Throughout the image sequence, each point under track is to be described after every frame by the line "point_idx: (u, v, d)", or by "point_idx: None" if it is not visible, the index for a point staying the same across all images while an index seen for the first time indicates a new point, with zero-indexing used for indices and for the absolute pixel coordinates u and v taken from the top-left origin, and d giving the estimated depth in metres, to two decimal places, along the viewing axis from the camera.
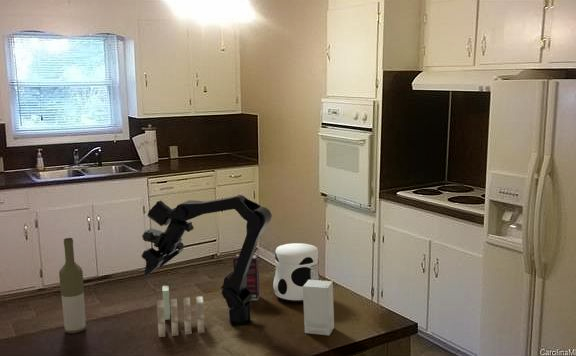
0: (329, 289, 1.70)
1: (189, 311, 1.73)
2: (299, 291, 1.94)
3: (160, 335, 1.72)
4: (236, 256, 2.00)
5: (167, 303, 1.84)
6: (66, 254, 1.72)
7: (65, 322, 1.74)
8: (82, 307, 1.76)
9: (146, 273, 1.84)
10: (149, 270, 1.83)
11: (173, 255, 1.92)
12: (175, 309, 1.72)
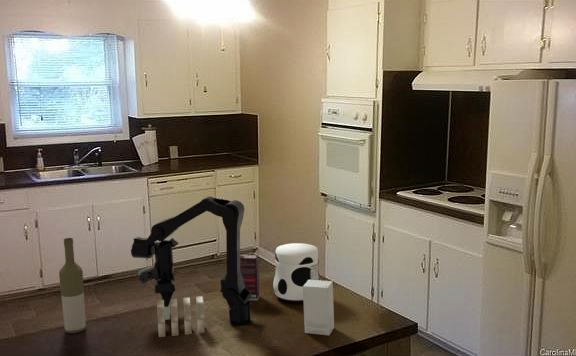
0: (329, 289, 1.70)
1: (189, 311, 1.73)
2: (299, 291, 1.94)
3: (160, 335, 1.72)
4: None
5: None
6: (66, 254, 1.72)
7: (65, 322, 1.74)
8: (82, 307, 1.76)
9: (166, 304, 1.83)
10: (168, 299, 1.83)
11: None
12: (175, 309, 1.72)
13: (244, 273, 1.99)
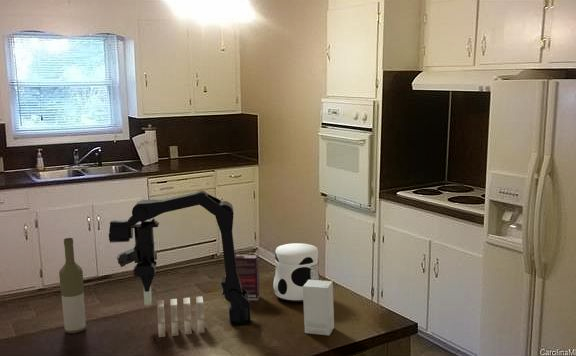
0: (329, 289, 1.70)
1: (189, 311, 1.73)
2: (299, 291, 1.94)
3: (160, 335, 1.72)
4: (236, 256, 2.00)
5: None
6: (66, 254, 1.72)
7: (65, 322, 1.74)
8: (82, 307, 1.76)
9: (147, 289, 1.74)
10: (148, 283, 1.73)
11: None
12: (175, 309, 1.72)
13: (244, 273, 1.99)
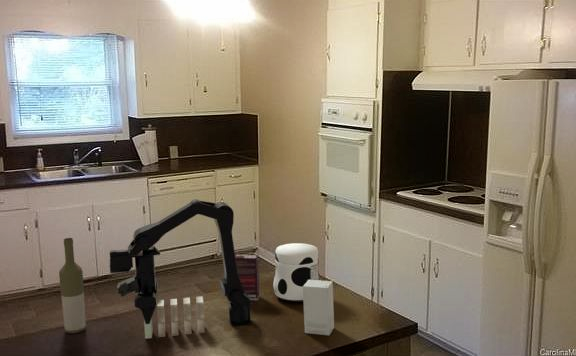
0: (329, 289, 1.70)
1: (189, 311, 1.73)
2: (299, 291, 1.94)
3: (160, 335, 1.72)
4: (236, 256, 2.00)
5: None
6: (66, 254, 1.72)
7: (65, 322, 1.74)
8: (82, 307, 1.76)
9: (147, 321, 1.68)
10: (149, 316, 1.67)
11: (154, 292, 1.77)
12: (175, 309, 1.72)
13: (244, 273, 1.99)
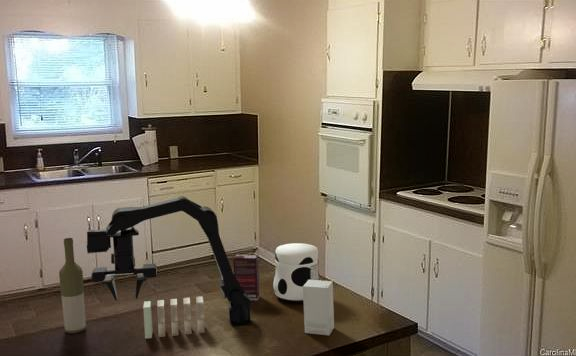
0: (329, 289, 1.70)
1: (189, 311, 1.73)
2: (299, 291, 1.94)
3: (160, 335, 1.72)
4: (236, 256, 2.00)
5: (148, 320, 1.70)
6: (66, 254, 1.72)
7: (65, 322, 1.74)
8: (82, 307, 1.76)
9: None
10: None
11: None
12: (175, 309, 1.72)
13: (244, 273, 1.99)
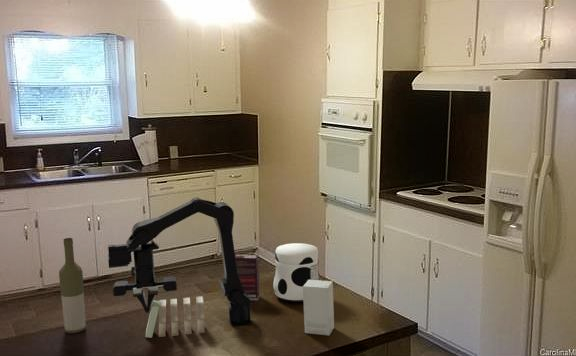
0: (329, 289, 1.70)
1: (189, 311, 1.73)
2: (299, 291, 1.94)
3: (160, 335, 1.72)
4: (236, 256, 2.00)
5: (154, 320, 1.71)
6: (66, 254, 1.72)
7: (65, 322, 1.74)
8: (82, 307, 1.76)
9: (145, 310, 1.72)
10: None
11: (148, 295, 1.69)
12: (175, 309, 1.72)
13: (244, 273, 1.99)
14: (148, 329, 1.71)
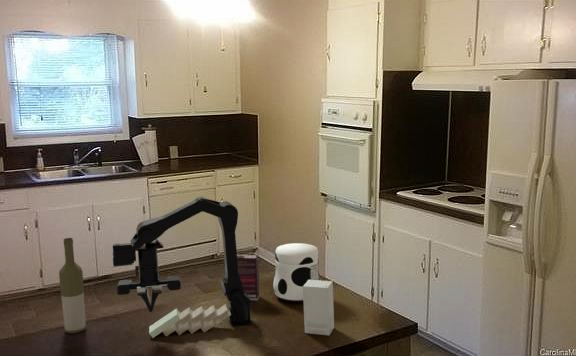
0: (329, 289, 1.70)
1: (210, 319, 1.74)
2: (299, 291, 1.94)
3: (164, 332, 1.72)
4: None
5: (167, 326, 1.72)
6: (66, 254, 1.72)
7: (65, 322, 1.74)
8: (82, 307, 1.76)
9: None
10: (146, 304, 1.71)
11: None
12: (201, 318, 1.74)
13: (244, 273, 1.99)
14: (156, 329, 1.71)
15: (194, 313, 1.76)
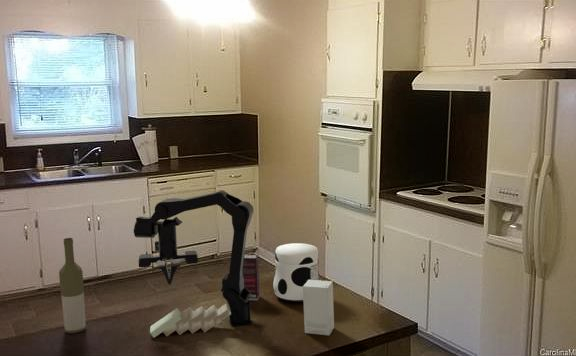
0: (329, 289, 1.70)
1: (211, 319, 1.74)
2: (299, 291, 1.94)
3: (165, 332, 1.72)
4: None
5: (168, 325, 1.72)
6: (66, 254, 1.72)
7: (65, 322, 1.74)
8: (82, 307, 1.76)
9: (167, 281, 1.83)
10: (165, 276, 1.82)
11: None
12: (201, 318, 1.74)
13: (244, 273, 1.99)
14: (157, 329, 1.71)
15: (194, 313, 1.76)
